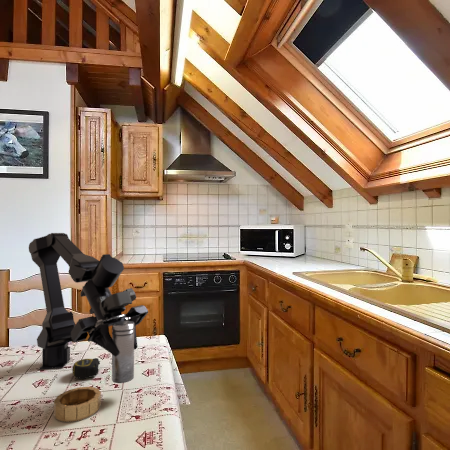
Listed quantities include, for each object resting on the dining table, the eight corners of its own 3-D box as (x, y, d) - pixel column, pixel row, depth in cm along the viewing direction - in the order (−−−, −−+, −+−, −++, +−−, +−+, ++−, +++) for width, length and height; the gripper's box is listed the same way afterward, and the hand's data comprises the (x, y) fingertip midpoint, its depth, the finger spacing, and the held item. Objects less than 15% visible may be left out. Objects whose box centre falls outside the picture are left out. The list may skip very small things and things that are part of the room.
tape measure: (98, 379, 86) (98, 365, 86) (70, 382, 83) (70, 368, 84) (100, 369, 92) (100, 356, 92) (74, 372, 90) (74, 359, 90)
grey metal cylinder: (109, 384, 73) (109, 327, 73) (114, 374, 78) (114, 321, 78) (132, 382, 73) (132, 326, 74) (135, 372, 78) (136, 320, 79)
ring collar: (46, 424, 65) (47, 409, 65) (63, 400, 74) (64, 388, 74) (93, 420, 66) (93, 406, 66) (104, 397, 75) (104, 385, 75)
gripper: (77, 283, 71) (105, 343, 64) (144, 275, 86) (172, 322, 79) (60, 313, 75) (84, 372, 68) (126, 300, 90) (151, 347, 84)
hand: (126, 351), depth 75 cm, fingers closed on grey metal cylinder, 5 cm apart
